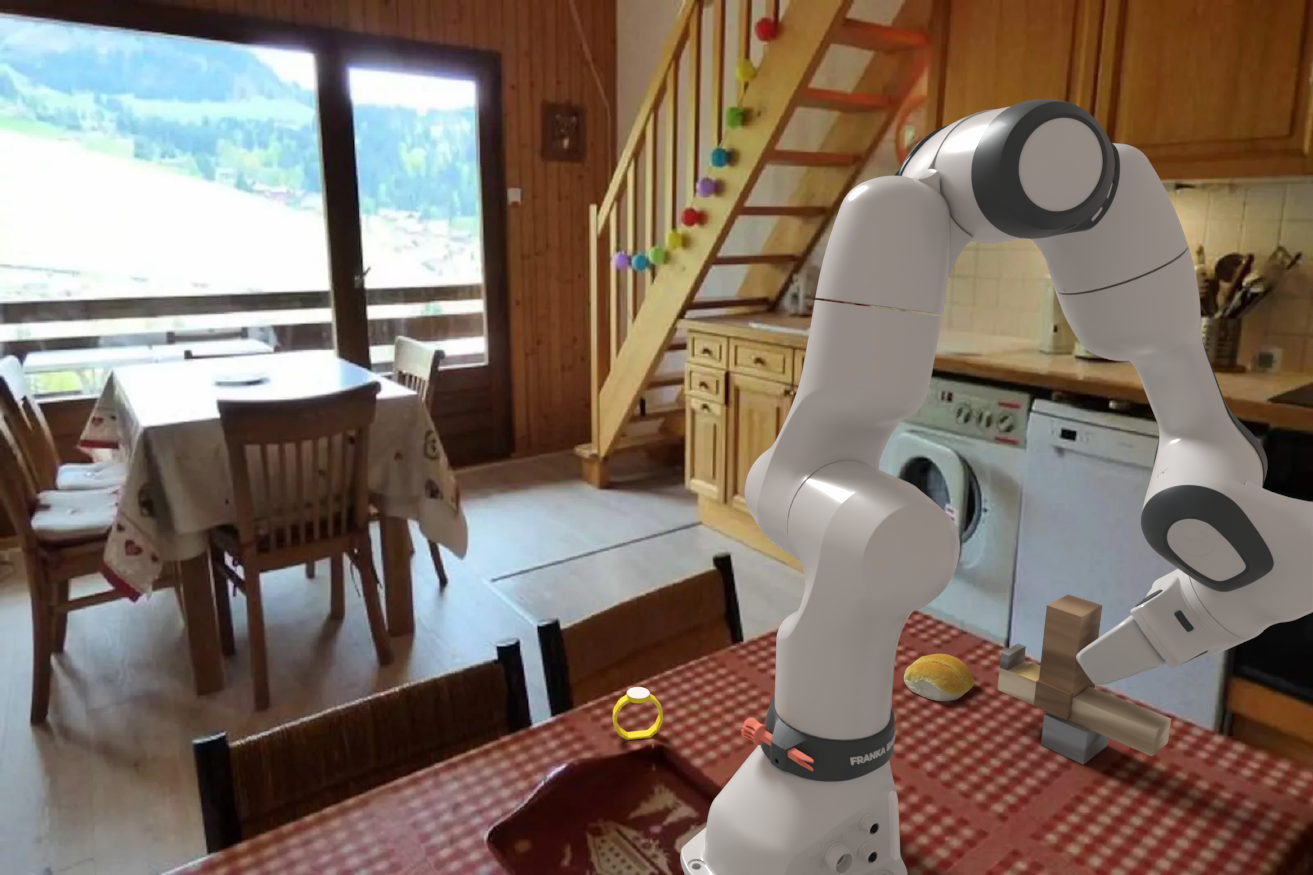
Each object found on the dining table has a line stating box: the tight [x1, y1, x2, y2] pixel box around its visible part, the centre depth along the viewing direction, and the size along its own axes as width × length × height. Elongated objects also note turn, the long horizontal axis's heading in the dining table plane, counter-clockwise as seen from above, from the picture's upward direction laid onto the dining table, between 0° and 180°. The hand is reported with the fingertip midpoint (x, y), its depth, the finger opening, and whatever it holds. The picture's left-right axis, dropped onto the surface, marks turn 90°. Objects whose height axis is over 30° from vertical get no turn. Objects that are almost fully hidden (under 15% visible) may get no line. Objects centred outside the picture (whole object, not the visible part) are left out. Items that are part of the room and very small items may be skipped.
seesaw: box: [997, 642, 1172, 765], centre depth 100 cm, size 6×18×9 cm, turn 38°
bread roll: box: [903, 653, 975, 702], centre depth 115 cm, size 8×9×4 cm
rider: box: [1033, 594, 1103, 720], centre depth 100 cm, size 6×4×13 cm, turn 128°
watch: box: [612, 686, 664, 741], centre depth 103 cm, size 6×3×6 cm, turn 100°
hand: (1091, 661), depth 98 cm, fingers closed, pressing on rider
